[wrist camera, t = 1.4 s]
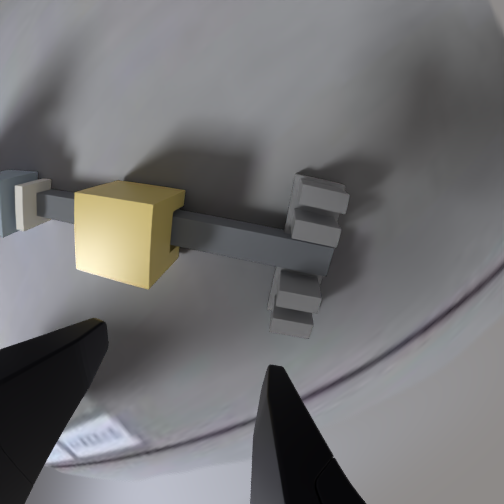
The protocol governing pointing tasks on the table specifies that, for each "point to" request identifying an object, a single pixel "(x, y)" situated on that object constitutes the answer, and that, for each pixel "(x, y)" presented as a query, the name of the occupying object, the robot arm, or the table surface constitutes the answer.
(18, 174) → the grey long bar
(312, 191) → the grey boxy piece
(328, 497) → the robot arm
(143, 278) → the pale yellow cube
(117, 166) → the table surface
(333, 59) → the table surface
